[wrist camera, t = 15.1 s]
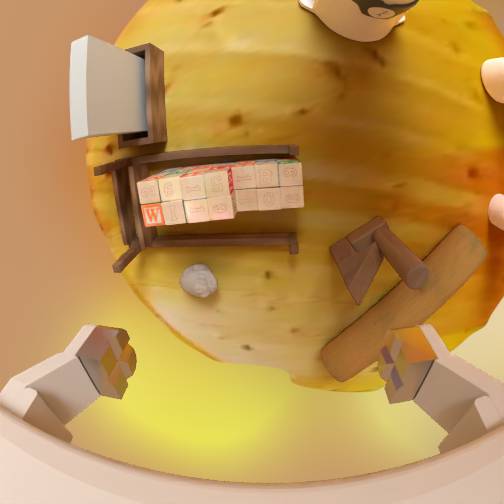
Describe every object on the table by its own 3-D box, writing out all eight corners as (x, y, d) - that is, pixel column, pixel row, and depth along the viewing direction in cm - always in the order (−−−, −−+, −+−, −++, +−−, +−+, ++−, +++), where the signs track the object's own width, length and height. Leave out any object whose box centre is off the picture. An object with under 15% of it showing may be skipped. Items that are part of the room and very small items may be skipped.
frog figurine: (224, 284, 53) (218, 305, 46) (189, 285, 53) (179, 306, 47) (219, 254, 50) (212, 273, 44) (182, 257, 51) (171, 275, 45)
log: (450, 215, 44) (479, 233, 35) (468, 245, 46) (494, 266, 37) (316, 339, 58) (322, 373, 48) (342, 358, 60) (350, 390, 51)
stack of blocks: (296, 156, 43) (305, 164, 31) (298, 194, 45) (307, 215, 34) (166, 168, 44) (135, 182, 33) (172, 204, 47) (143, 227, 36)
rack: (121, 158, 44) (82, 169, 33) (294, 144, 42) (304, 149, 31) (134, 242, 50) (103, 272, 39) (295, 239, 48) (302, 272, 37)
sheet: (141, 67, 37) (71, 42, 19) (154, 64, 37) (88, 34, 19) (144, 132, 42) (71, 140, 24) (157, 130, 42) (88, 135, 23)
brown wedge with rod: (328, 246, 48) (354, 305, 32) (378, 214, 45) (426, 258, 29) (337, 262, 50) (365, 323, 33) (386, 230, 46) (434, 279, 30)
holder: (131, 59, 36) (115, 52, 31) (163, 51, 36) (150, 42, 30) (135, 145, 43) (118, 148, 37) (167, 141, 42) (153, 142, 37)
